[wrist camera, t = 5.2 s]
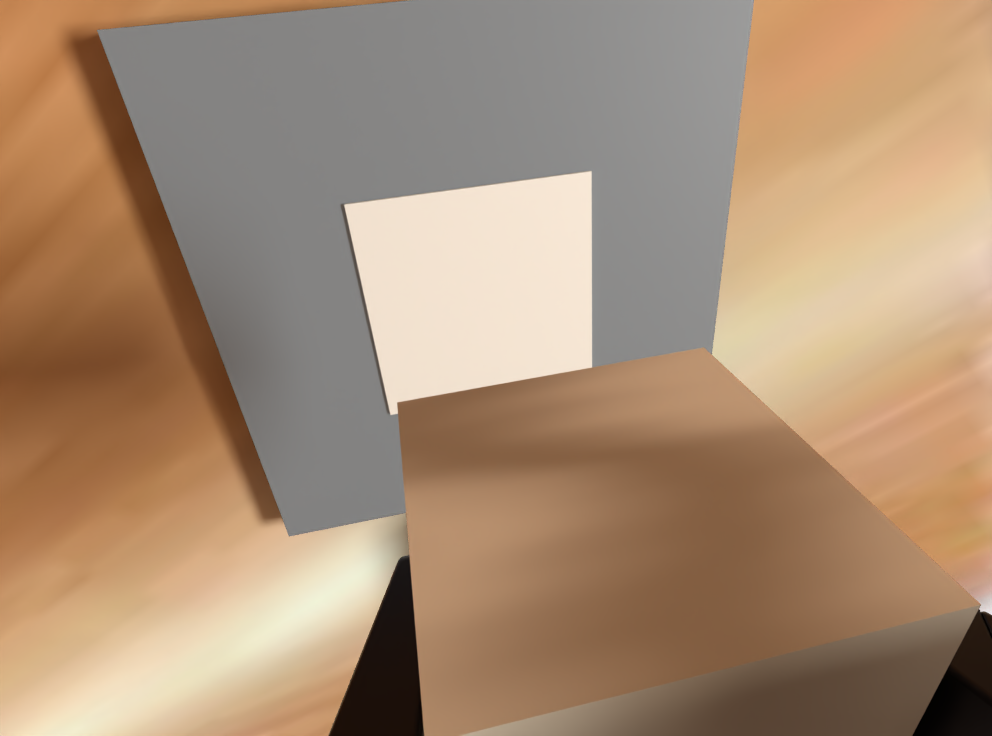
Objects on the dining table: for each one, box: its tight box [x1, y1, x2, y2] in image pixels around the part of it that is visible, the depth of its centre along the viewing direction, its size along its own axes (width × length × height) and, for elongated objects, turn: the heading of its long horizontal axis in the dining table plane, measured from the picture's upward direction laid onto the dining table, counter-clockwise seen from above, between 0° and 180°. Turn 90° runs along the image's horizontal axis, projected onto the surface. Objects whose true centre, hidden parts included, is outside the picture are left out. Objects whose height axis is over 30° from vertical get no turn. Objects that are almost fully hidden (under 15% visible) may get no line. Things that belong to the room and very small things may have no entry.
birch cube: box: [397, 348, 981, 736], centre depth 8 cm, size 5×5×5 cm
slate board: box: [97, 0, 754, 536], centre depth 18 cm, size 16×16×1 cm
